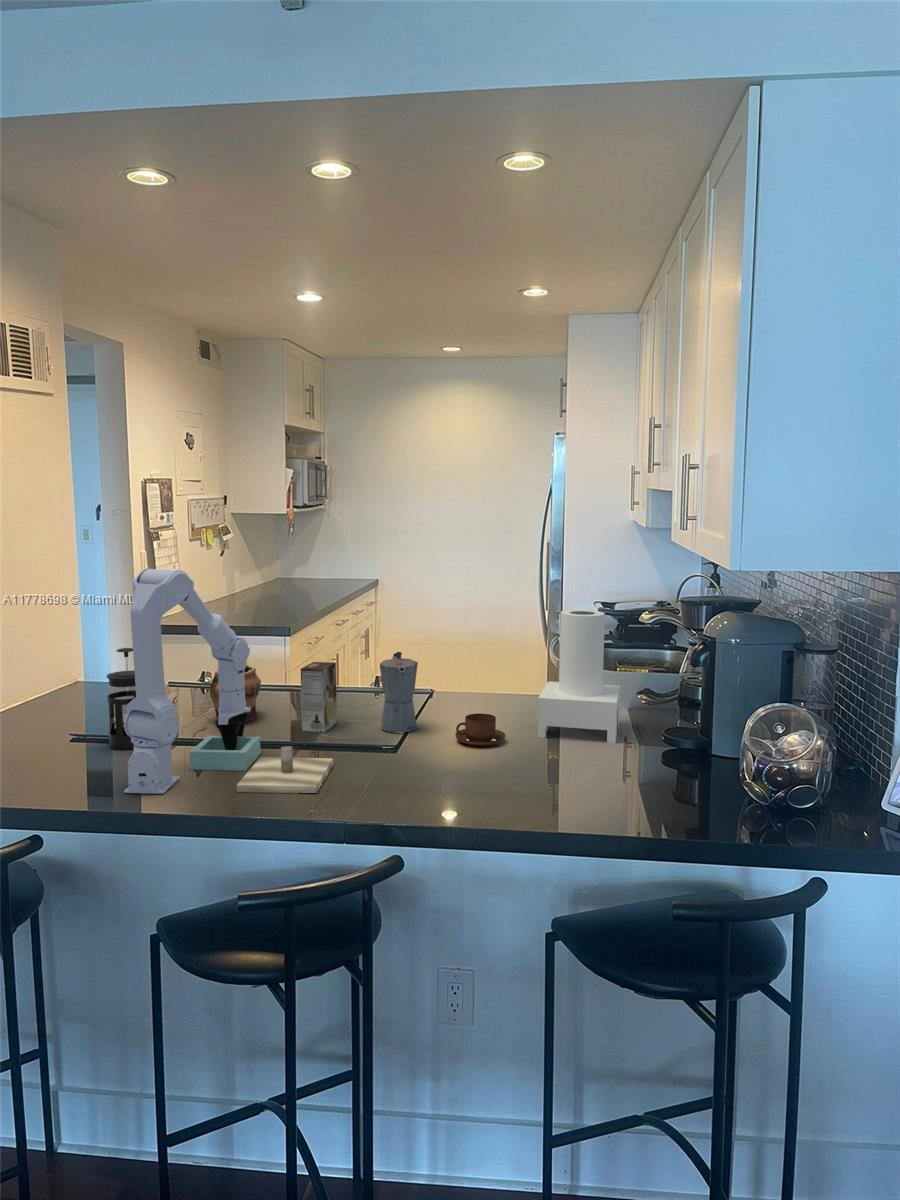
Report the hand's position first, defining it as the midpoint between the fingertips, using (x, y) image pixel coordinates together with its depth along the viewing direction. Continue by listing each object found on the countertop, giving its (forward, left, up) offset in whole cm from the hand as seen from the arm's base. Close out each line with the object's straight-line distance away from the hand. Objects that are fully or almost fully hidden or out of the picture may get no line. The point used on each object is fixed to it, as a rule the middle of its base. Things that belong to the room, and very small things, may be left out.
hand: (233, 747), depth 195 cm
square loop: (-5, 0, -2) cm, 6 cm away
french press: (+6, +26, -2) cm, 27 cm away
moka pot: (+24, -35, -2) cm, 42 cm away
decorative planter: (+28, +8, -2) cm, 29 cm away
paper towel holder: (+26, -81, -2) cm, 85 cm away
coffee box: (+24, -15, -2) cm, 28 cm away
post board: (-15, -16, -2) cm, 22 cm away
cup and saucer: (+14, -56, -2) cm, 58 cm away
